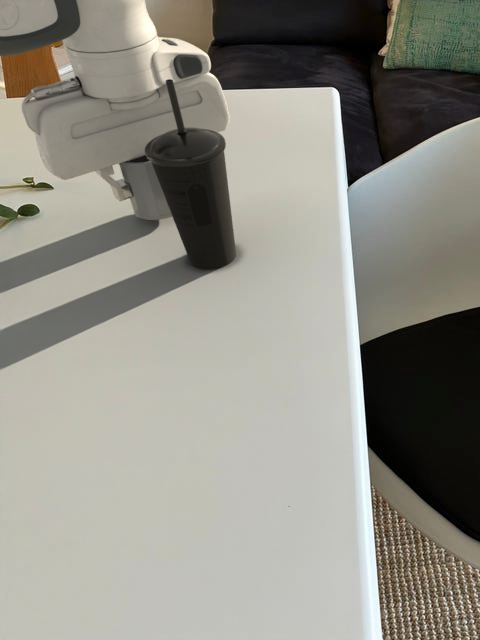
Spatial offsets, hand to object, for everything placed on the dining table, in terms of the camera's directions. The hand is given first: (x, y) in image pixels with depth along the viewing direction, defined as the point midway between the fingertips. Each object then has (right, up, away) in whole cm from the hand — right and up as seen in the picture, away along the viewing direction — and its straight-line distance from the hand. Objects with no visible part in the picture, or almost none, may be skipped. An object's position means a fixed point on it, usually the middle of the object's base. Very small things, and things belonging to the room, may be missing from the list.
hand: (155, 187), depth 90 cm
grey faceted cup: (0, -2, +2) cm, 3 cm away
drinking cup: (+8, -9, -4) cm, 13 cm away
